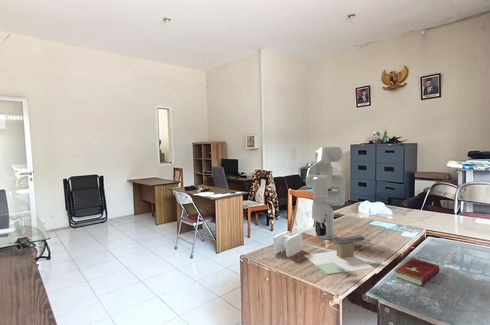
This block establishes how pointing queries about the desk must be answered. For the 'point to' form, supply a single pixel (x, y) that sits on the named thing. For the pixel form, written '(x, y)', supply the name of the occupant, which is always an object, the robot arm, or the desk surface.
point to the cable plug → (319, 229)
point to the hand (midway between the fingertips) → (320, 233)
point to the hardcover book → (417, 271)
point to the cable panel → (338, 260)
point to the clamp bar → (348, 239)
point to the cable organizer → (287, 243)
